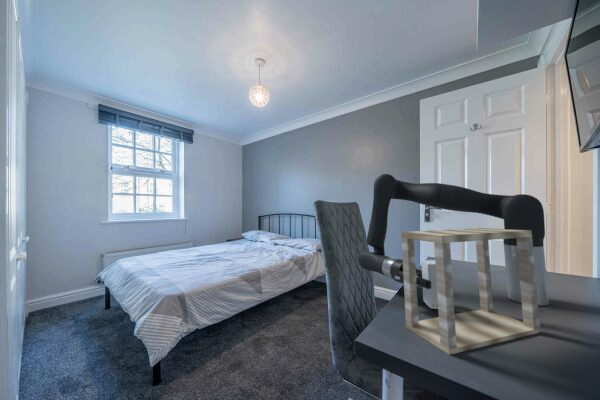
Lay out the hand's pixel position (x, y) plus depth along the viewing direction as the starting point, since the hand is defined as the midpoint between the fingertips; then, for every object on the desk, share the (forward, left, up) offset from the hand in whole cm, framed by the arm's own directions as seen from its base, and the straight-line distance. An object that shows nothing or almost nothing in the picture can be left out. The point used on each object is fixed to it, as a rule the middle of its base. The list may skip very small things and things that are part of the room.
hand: (440, 283), depth 64 cm
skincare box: (0, -2, -7) cm, 7 cm away
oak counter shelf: (0, +8, -9) cm, 12 cm away
